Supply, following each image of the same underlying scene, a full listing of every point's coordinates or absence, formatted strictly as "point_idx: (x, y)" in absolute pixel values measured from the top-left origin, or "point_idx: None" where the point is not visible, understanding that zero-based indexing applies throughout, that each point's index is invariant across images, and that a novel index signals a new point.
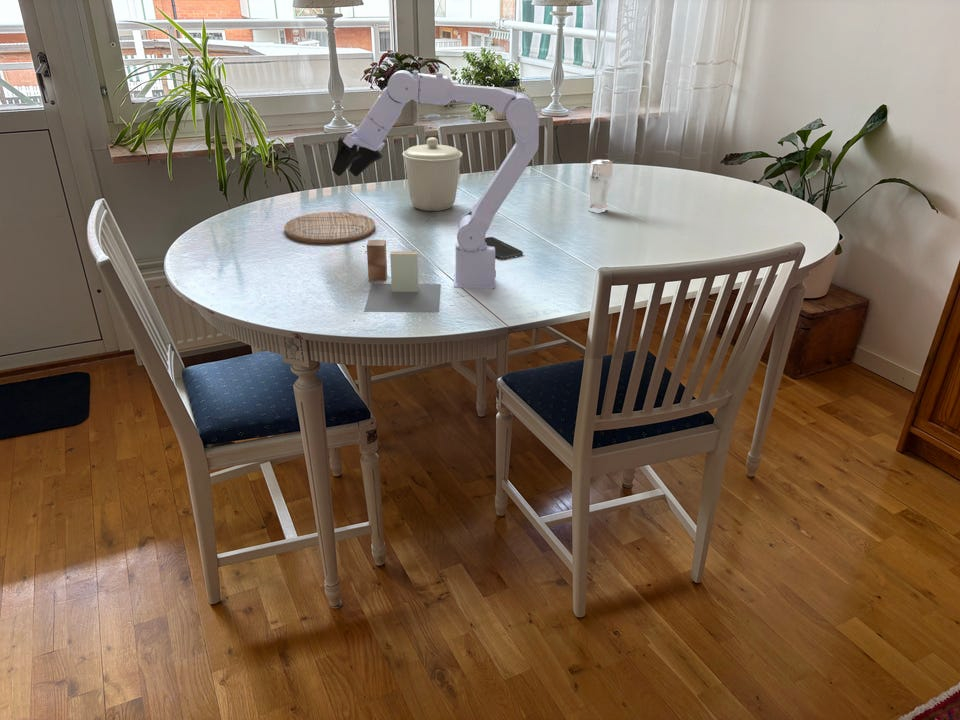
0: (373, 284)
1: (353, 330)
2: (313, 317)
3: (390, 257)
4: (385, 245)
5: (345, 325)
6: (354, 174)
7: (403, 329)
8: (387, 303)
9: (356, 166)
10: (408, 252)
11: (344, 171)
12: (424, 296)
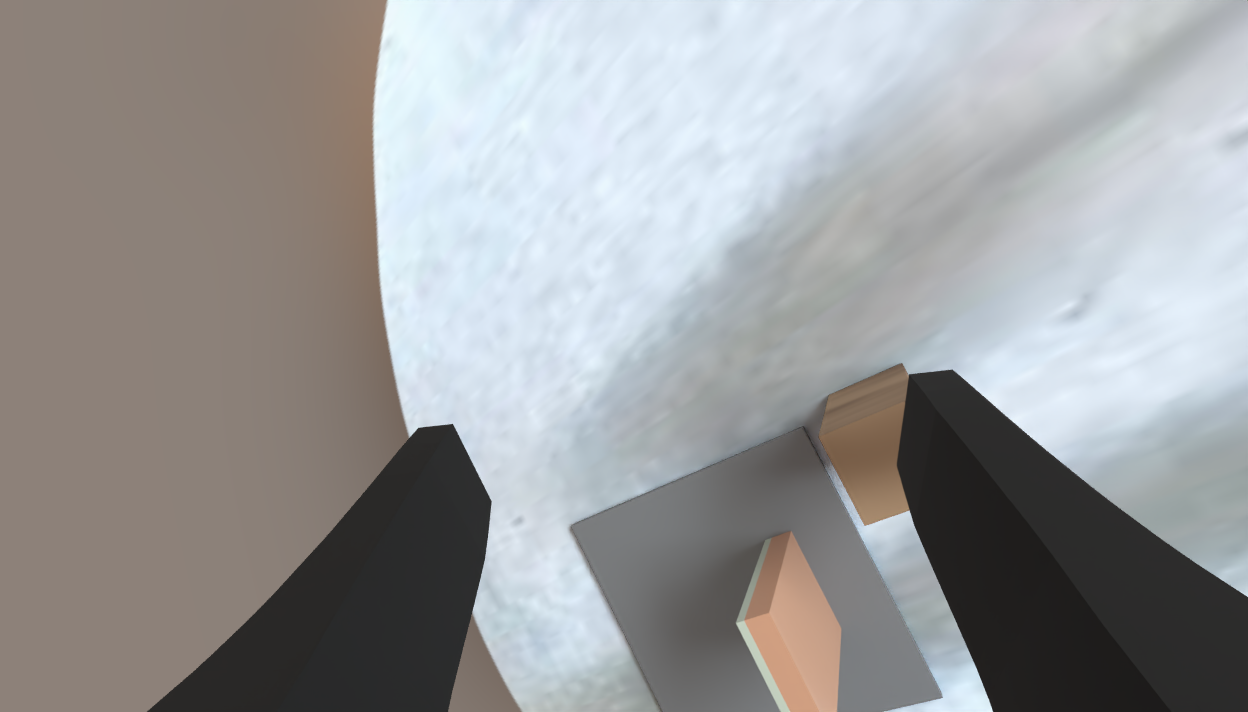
0: (795, 439)
1: None
2: (478, 395)
3: (740, 613)
4: None
5: None
6: (902, 457)
7: (542, 680)
8: (661, 571)
9: (953, 520)
10: (800, 701)
11: (474, 588)
12: None
